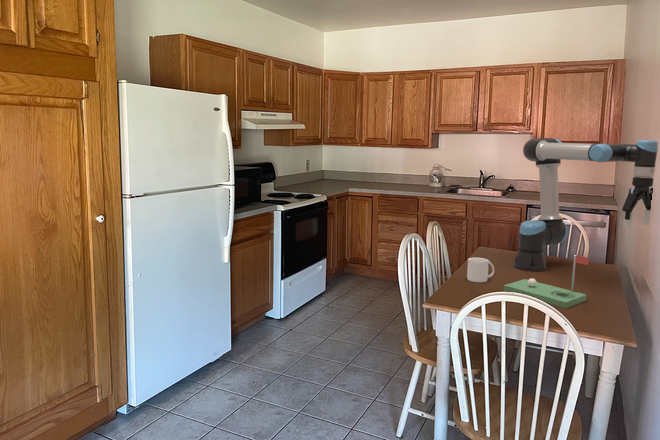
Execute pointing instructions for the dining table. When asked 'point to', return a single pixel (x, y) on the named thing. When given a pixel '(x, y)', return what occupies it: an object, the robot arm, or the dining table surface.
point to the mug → (478, 269)
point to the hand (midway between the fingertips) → (636, 226)
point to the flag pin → (576, 260)
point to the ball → (532, 282)
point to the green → (547, 293)
